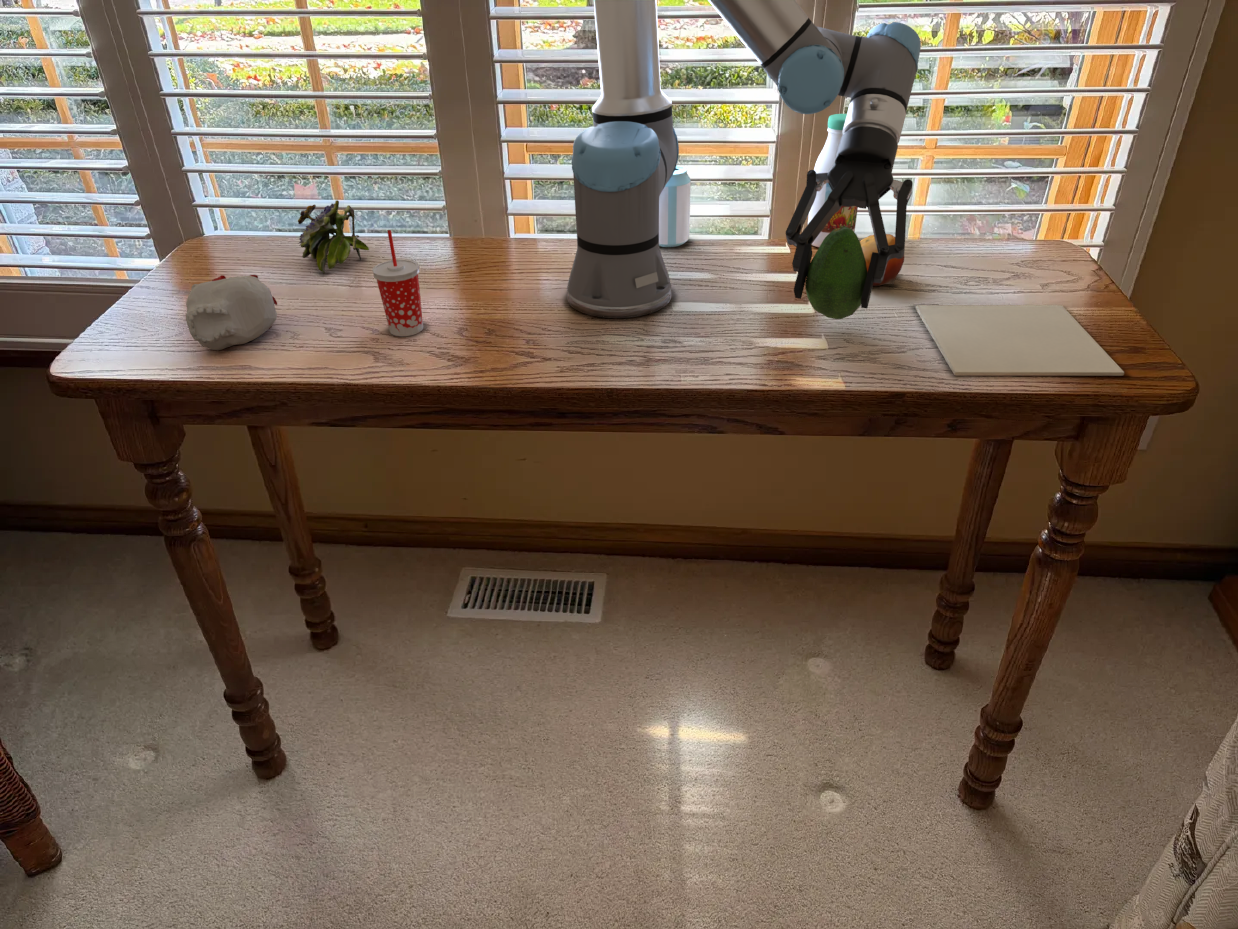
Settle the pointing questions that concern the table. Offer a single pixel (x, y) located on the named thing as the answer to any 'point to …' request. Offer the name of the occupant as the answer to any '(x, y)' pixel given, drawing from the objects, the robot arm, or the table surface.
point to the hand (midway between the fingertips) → (830, 298)
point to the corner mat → (1015, 341)
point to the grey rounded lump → (229, 311)
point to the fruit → (892, 265)
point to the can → (675, 209)
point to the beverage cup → (400, 293)
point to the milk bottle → (823, 165)
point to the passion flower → (328, 236)
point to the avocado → (837, 275)
